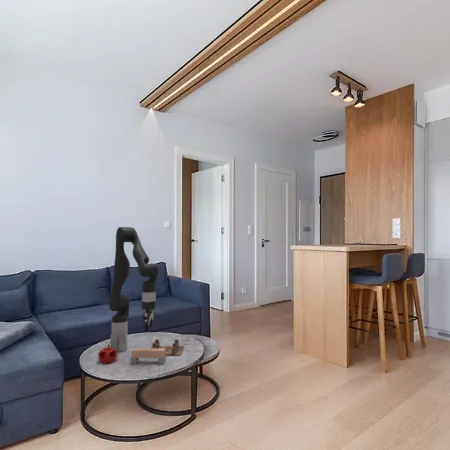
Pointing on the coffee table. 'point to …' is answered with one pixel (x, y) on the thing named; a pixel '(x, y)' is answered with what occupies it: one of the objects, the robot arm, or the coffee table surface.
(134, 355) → the light wooden bar
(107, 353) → the pomegranate
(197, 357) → the coffee table surface
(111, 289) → the robot arm
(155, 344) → the rack
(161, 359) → the blocks
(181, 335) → the coffee table surface
